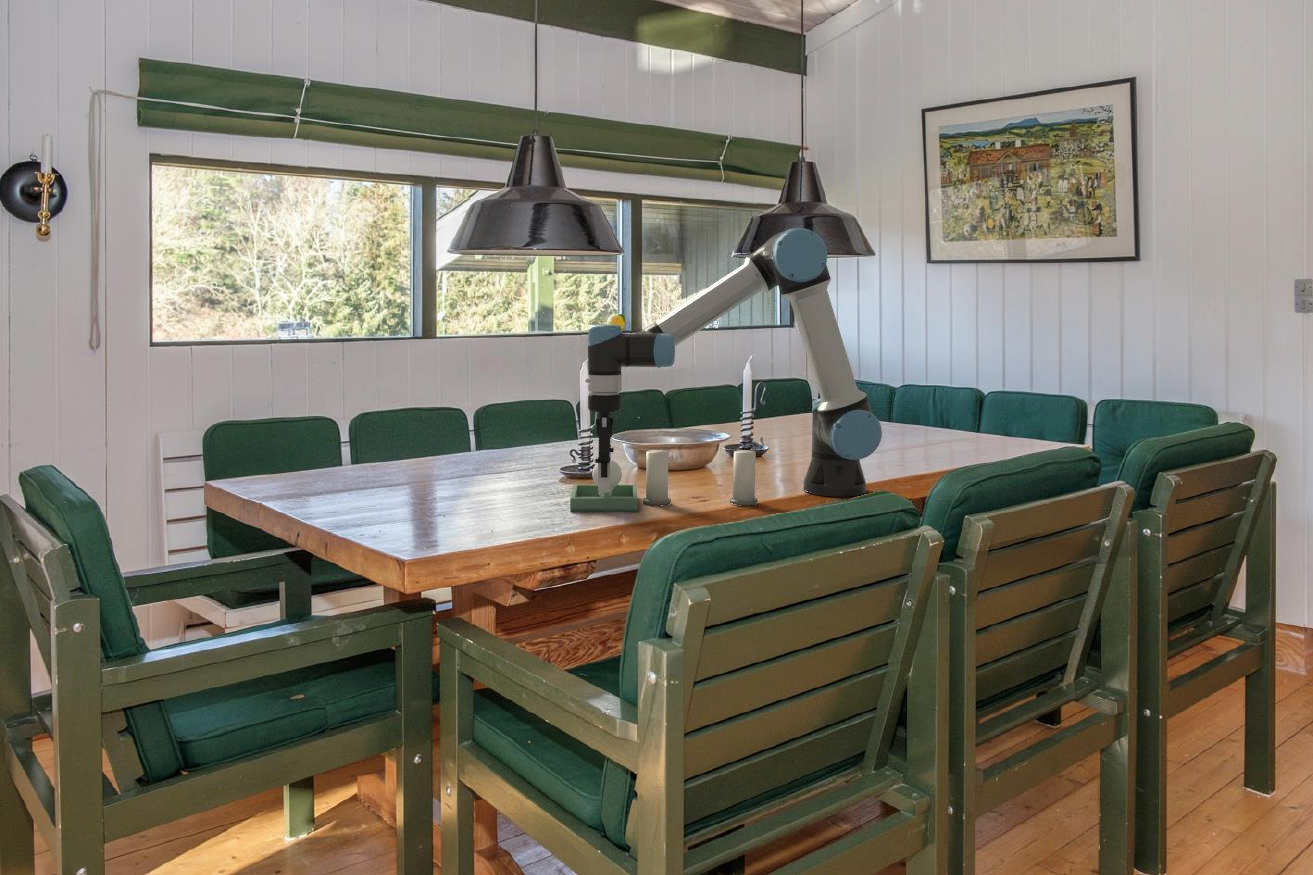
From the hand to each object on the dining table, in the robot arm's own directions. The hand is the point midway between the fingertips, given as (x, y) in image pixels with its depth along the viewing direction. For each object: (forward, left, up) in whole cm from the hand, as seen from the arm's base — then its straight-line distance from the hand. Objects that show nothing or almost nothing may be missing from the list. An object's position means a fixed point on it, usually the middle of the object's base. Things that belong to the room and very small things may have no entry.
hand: (604, 486), depth 246 cm
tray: (0, 0, -4) cm, 4 cm away
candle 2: (-32, -1, -4) cm, 32 cm away
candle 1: (-12, -1, -4) cm, 13 cm away
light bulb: (0, -2, -3) cm, 4 cm away
